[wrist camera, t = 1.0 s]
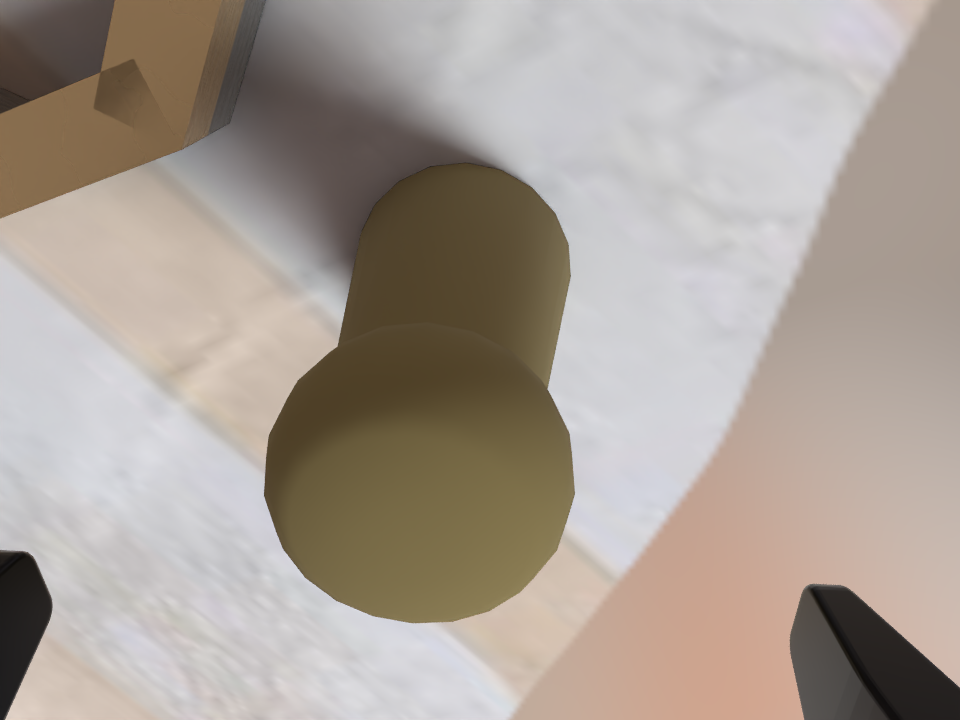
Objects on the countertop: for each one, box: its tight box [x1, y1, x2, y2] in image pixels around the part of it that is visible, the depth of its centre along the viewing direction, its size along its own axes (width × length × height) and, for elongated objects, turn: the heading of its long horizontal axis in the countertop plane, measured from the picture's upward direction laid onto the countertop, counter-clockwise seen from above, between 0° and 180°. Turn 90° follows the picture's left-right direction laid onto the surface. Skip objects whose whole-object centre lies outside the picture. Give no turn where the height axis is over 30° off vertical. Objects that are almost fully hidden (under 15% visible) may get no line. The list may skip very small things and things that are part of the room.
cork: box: [264, 163, 575, 623], centre depth 16 cm, size 6×6×11 cm
